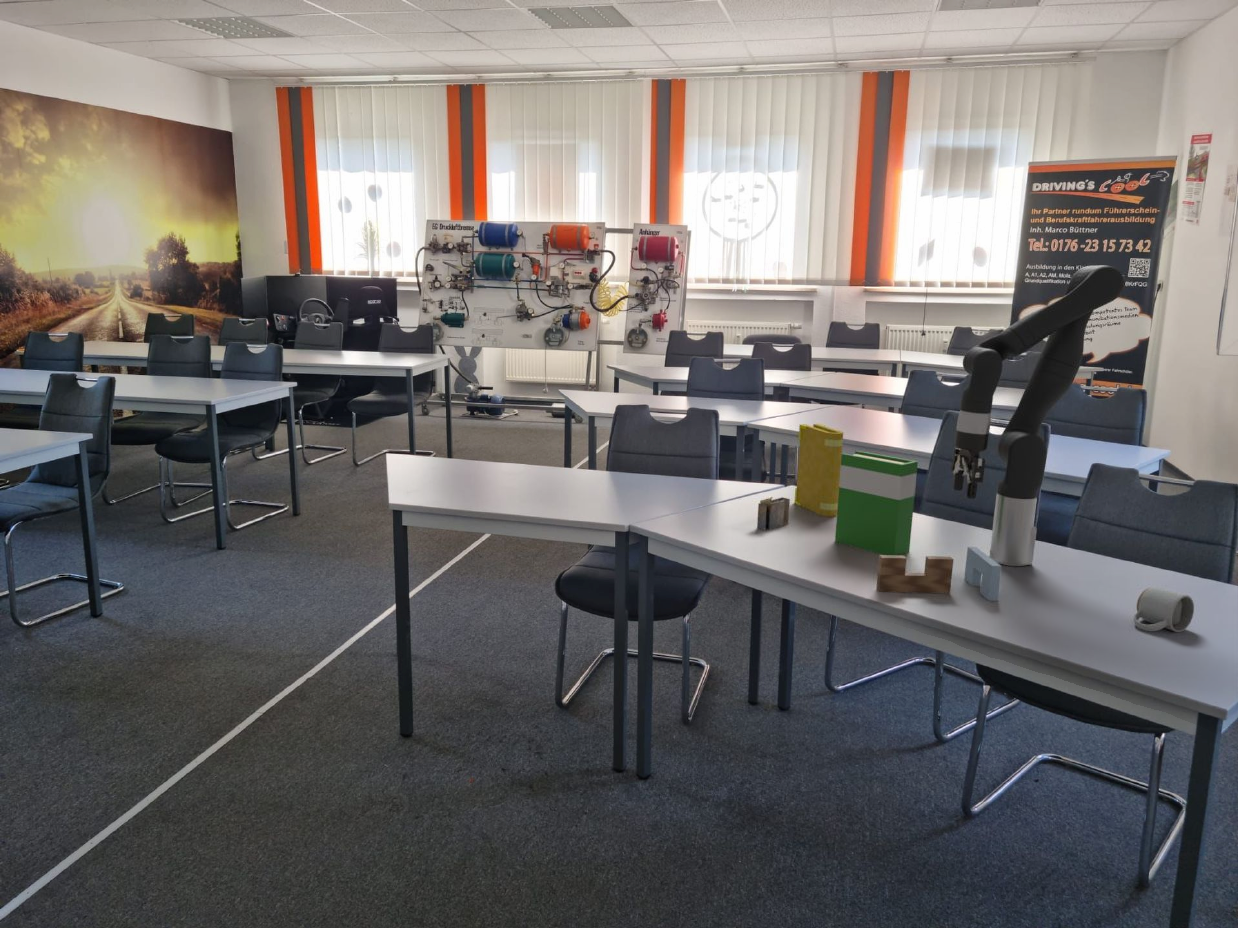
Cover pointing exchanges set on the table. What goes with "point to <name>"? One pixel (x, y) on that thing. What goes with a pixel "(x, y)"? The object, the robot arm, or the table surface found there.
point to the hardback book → (876, 502)
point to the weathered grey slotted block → (773, 512)
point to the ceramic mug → (1164, 610)
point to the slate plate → (982, 573)
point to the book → (819, 469)
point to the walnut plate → (914, 575)
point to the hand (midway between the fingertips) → (963, 494)
